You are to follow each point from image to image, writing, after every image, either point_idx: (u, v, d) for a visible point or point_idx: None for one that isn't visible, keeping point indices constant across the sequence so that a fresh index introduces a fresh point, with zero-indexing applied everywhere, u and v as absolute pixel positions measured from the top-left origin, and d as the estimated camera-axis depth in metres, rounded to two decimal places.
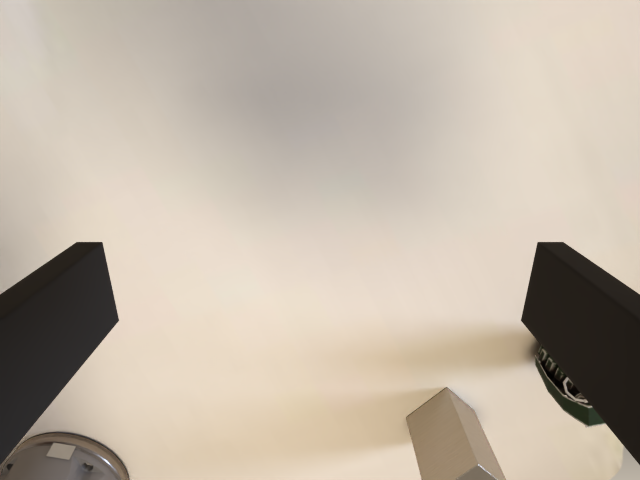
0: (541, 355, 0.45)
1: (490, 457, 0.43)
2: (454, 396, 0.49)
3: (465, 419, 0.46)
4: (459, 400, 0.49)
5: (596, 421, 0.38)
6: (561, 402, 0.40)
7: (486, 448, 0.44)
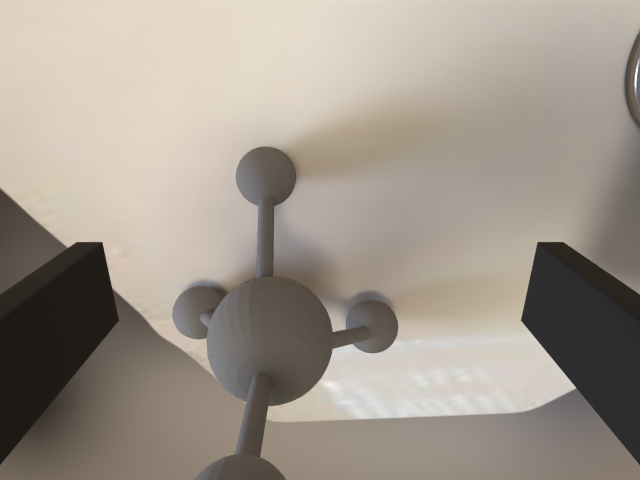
0: None
1: None
2: None
3: None
4: None
5: None
6: None
7: None
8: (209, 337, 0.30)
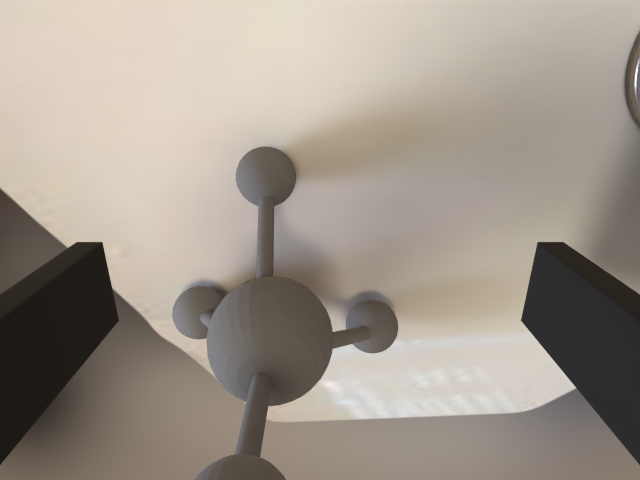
0: None
1: None
2: None
3: None
4: None
5: None
6: None
7: None
8: (209, 337, 0.30)
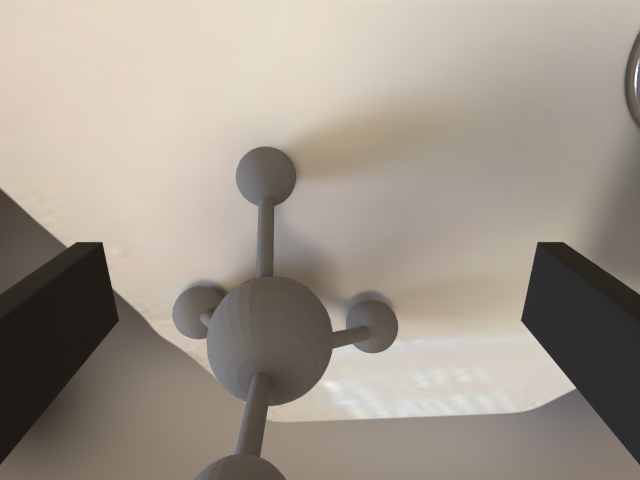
0: None
1: None
2: None
3: None
4: None
5: None
6: None
7: None
8: (209, 337, 0.30)
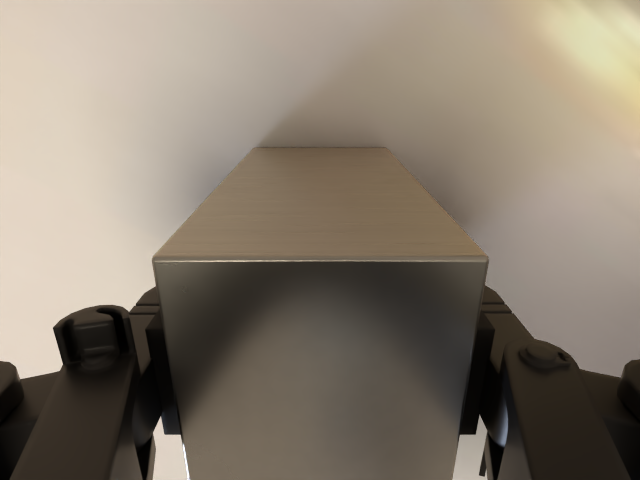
0: None
1: None
2: None
3: None
4: None
5: None
6: None
7: None
8: None
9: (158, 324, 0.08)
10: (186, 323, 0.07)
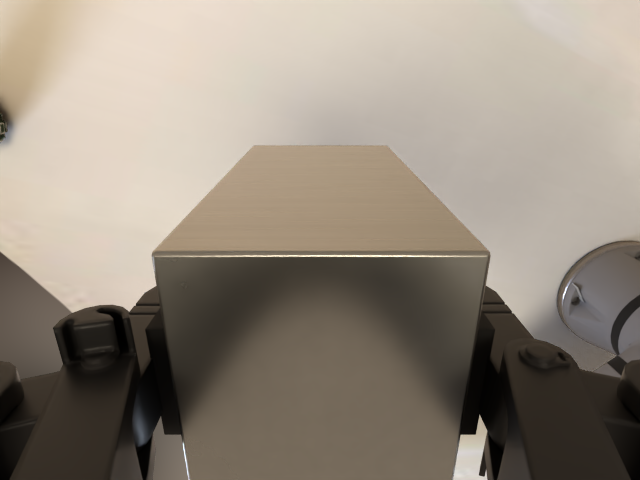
0: None
1: None
2: None
3: None
4: None
5: None
6: None
7: None
8: None
9: (158, 324, 0.08)
10: (186, 319, 0.07)
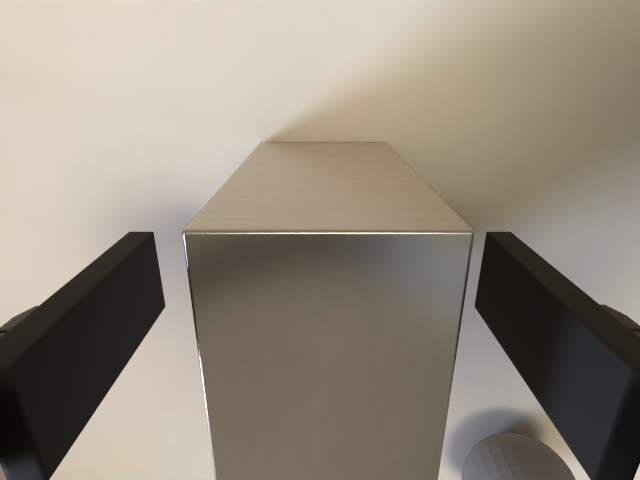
0: None
1: None
2: None
3: None
4: None
5: None
6: None
7: None
8: None
9: None
10: (211, 289, 0.08)
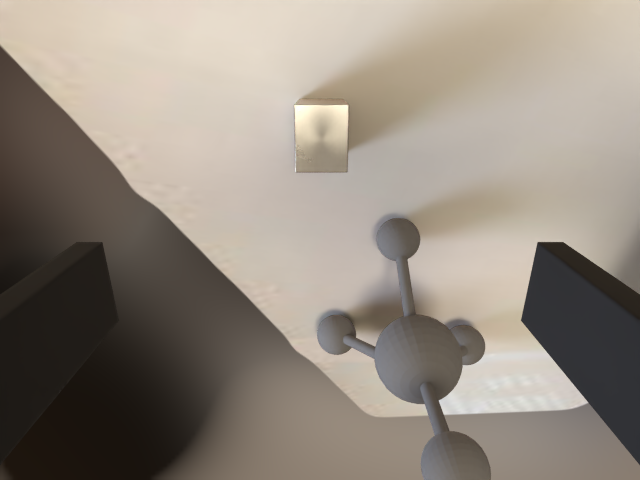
0: None
1: None
2: None
3: None
4: None
5: None
6: None
7: None
8: (384, 358, 0.45)
9: None
10: (298, 117, 0.40)
